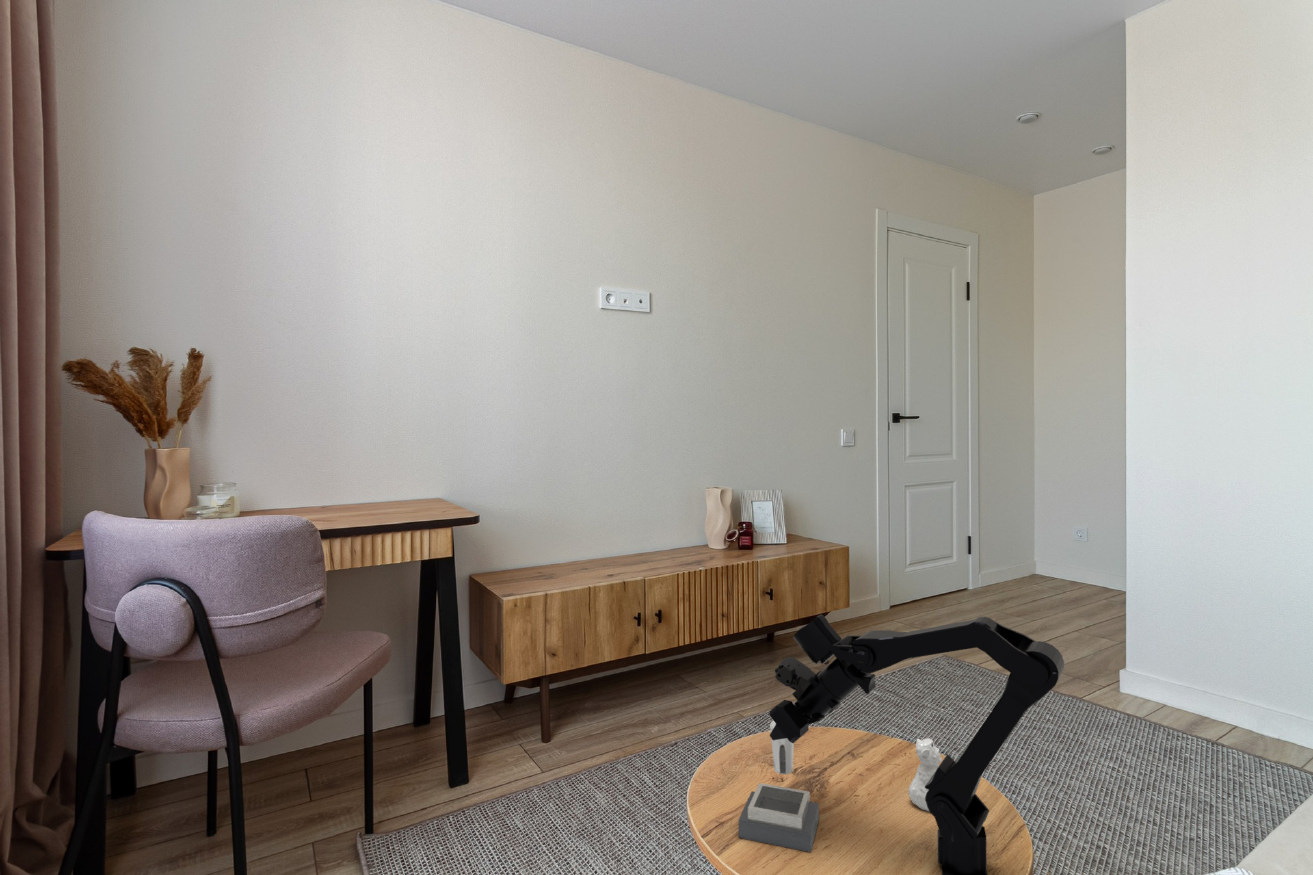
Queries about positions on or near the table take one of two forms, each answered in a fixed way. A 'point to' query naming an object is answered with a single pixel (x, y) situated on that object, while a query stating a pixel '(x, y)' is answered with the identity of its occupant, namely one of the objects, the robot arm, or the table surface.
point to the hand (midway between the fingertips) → (777, 733)
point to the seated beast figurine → (924, 771)
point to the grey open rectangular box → (780, 817)
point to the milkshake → (782, 754)
